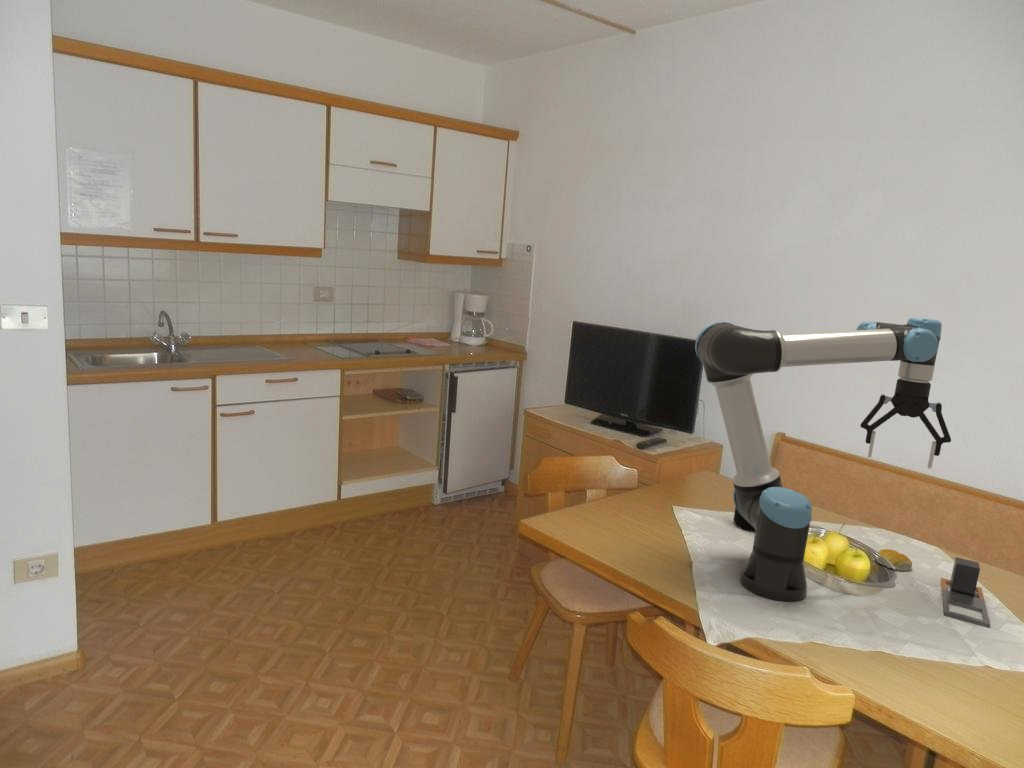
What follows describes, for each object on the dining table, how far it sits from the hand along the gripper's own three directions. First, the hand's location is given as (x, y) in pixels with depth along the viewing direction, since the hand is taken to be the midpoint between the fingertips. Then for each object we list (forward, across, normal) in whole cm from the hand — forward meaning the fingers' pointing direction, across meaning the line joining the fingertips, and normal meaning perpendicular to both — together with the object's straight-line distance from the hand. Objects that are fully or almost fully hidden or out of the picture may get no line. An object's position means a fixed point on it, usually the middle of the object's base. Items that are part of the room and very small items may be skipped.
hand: (898, 461), depth 181 cm
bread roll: (+31, -3, -11) cm, 33 cm away
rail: (+31, -19, +4) cm, 36 cm away
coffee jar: (+31, +35, -14) cm, 49 cm away
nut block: (+31, -19, -3) cm, 36 cm away
